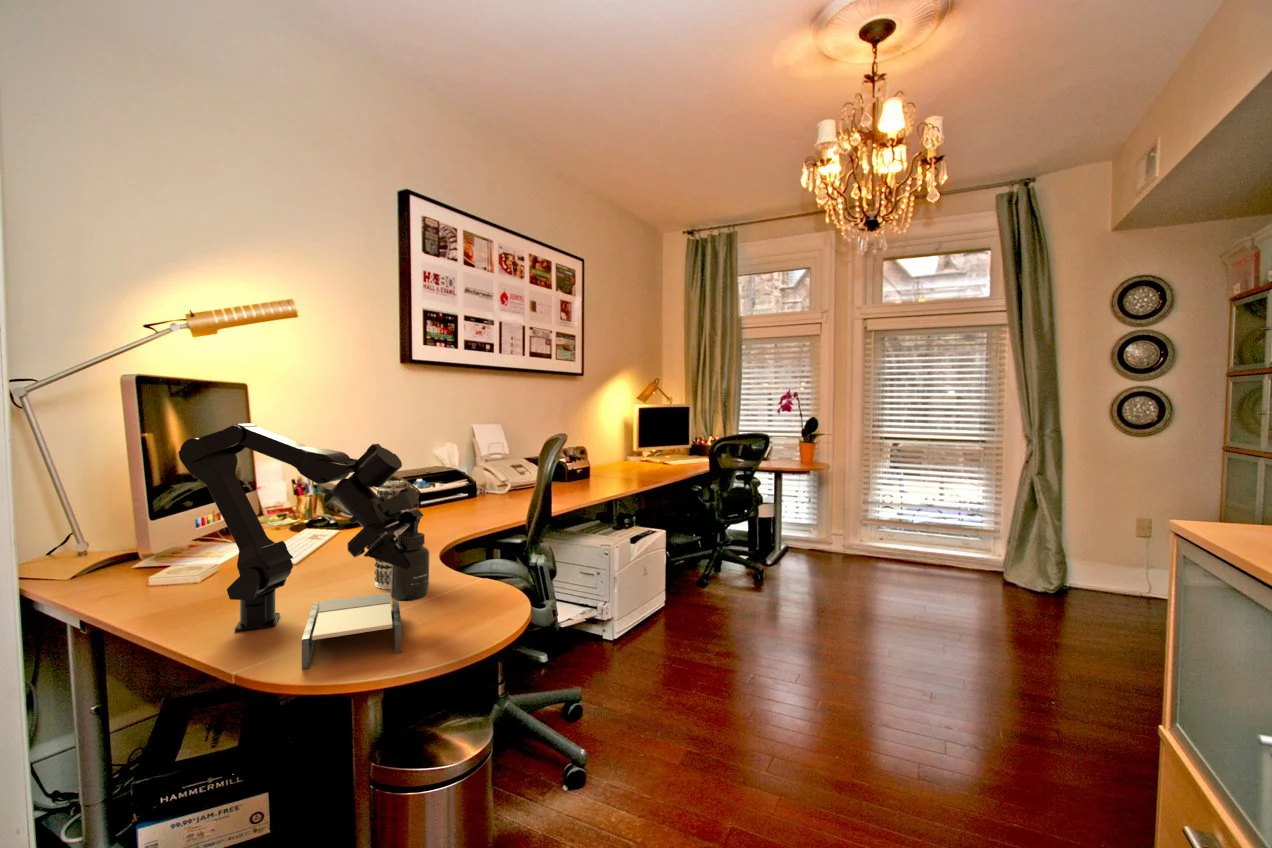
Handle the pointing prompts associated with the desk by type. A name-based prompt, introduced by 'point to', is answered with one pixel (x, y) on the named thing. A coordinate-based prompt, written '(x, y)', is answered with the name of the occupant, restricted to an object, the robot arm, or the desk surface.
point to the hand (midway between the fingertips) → (417, 562)
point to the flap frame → (309, 643)
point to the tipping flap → (353, 616)
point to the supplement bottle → (411, 569)
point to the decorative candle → (383, 567)
